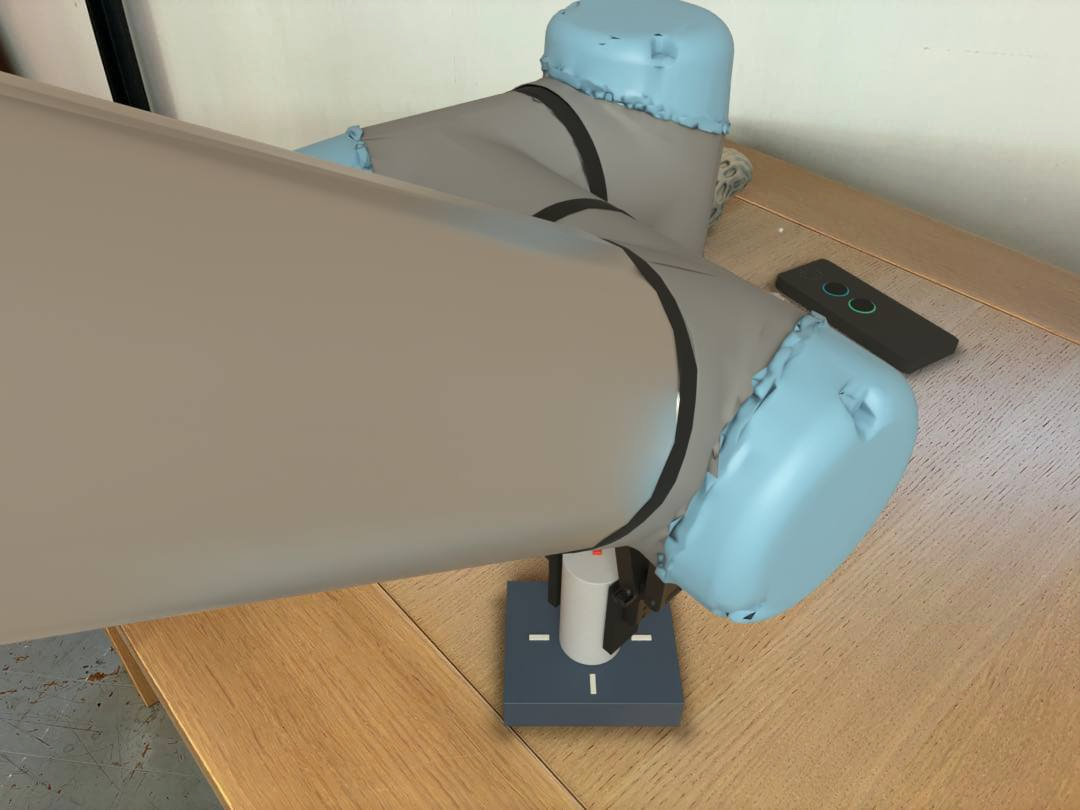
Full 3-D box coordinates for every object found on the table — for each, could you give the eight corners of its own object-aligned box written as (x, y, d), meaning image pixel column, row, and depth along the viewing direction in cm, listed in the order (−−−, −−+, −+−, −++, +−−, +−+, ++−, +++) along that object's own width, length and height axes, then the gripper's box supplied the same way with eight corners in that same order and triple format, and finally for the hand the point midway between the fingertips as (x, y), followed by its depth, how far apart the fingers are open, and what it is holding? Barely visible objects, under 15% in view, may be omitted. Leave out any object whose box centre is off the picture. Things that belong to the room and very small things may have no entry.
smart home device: (825, 255, 101) (963, 338, 88) (821, 268, 103) (957, 351, 90) (774, 273, 98) (910, 362, 85) (771, 286, 99) (905, 375, 86)
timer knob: (622, 666, 57) (634, 582, 51) (558, 664, 57) (562, 579, 51) (620, 612, 60) (630, 527, 54) (559, 610, 60) (563, 525, 54)
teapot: (722, 204, 115) (740, 96, 105) (764, 244, 107) (788, 130, 97) (578, 226, 110) (583, 114, 100) (610, 269, 102) (618, 152, 92)
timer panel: (503, 726, 56) (503, 702, 54) (507, 604, 64) (507, 579, 62) (679, 726, 57) (685, 702, 55) (662, 605, 64) (666, 579, 62)
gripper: (808, 386, 39) (729, 664, 54) (546, 249, 48) (541, 518, 63) (711, 464, 35) (655, 740, 50) (446, 297, 44) (467, 572, 59)
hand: (592, 615), depth 57 cm, fingers closed on timer knob, 4 cm apart
